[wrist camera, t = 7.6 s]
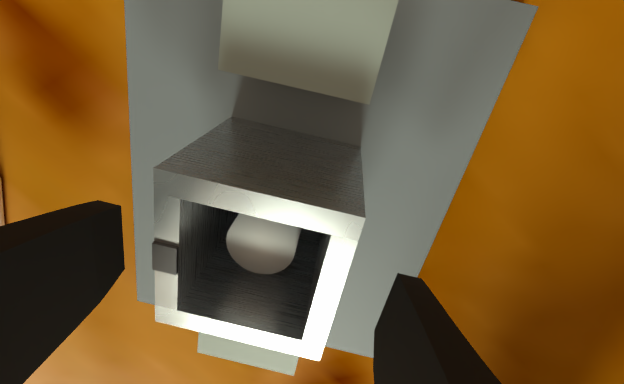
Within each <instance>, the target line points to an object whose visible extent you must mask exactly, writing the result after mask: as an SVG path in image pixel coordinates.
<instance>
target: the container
mask: <svg viewBox="0 0 624 384" xmlns="http://www.w3.org/2000/svg"><path fill="white" fill-rule="evenodd" d="M3 225H5V223H4V210H3V197H2V184H1V177H0V226H3Z"/></svg>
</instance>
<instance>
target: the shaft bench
mask: <svg viewBox="0 0 624 384" xmlns="http://www.w3.org/2000/svg"><path fill="white" fill-rule="evenodd" d="M124 4H125V27H126V50H127V73H128V96H129V119H130V142H131V165H132V188H133V211H134V234H135V257H136V280H137V301H141V302H145V303H149V304H153V305H155V270H152V243H153V242H154V183H153V168H154V167H155V166H157V165H158V164H160V163H161V162H163V161H165V160H166V159H168V158H169V157H171V156H172V155H174V154H175V153H177V152H178V151H180V150H181V149H183V148H184V147H186V146H187V145H189V144H190V143H192V142H193V141H195V140H196V139H198V138H200V137H201V136H203V135H204V134H206V133H207V132H209V131H210V130H212V129H213V128H215V127H216V126H218V125H219V124H221V123H222V122H224V121H225V120H227V119H228V118H230V117H231V116H233V117H237V118H241V119H246V120H250V121H254V122H258V123H263V124H267V125H271V126H276V127H280V128H284V129H288V130H293V131H297V132H301V133H306V134H310V135H314V136H318V137H323V138H327V139H331V140H336V141H340V142H344V143H348V144H353V145H357V146H361V156H362V171H363V185H364V200H365V215H366V219H365V222H364V225H363V228H362V231H361V234H360V237H359V240H358V244H357V247H356V250H355V253H354V256H353V259H352V262H351V265H350V268H349V271H348V274H347V278H346V281H345V284H344V287H343V290H342V293H341V296H340V299H339V302H338V305H337V308H336V312H335V315H334V318H333V321H332V324H331V327H330V330H329V333H328V336H327V339H326V342H325V346H326V347H330V348H334V349H338V350H343V351H347V352H351V353H355V354H359V355H363V356H367V357H371V358H374V330H375V327H376V325H377V322H378V320H379V317H380V315H381V312H382V310H383V308H384V305H385V303H386V300H387V298H388V295H389V293H390V290H391V288H392V286H393V283H394V281H395V278H396V276H397V273H400V274H404V275H408V276H413V277H418V275H419V272H420V270H421V268H422V266H423V263H424V261H425V259H426V257H427V254H428V252H429V250H430V248H431V245H432V243H433V241H434V239H435V237H436V234H437V232H438V230H439V228H440V225H441V223H442V221H443V219H444V216H445V214H446V212H447V210H448V208H449V205H450V203H451V201H452V199H453V196H454V194H455V192H456V190H457V187H458V185H459V183H460V181H461V178H462V176H463V174H464V172H465V170H466V167H467V165H468V163H469V161H470V158H471V156H472V154H473V152H474V149H475V147H476V145H477V143H478V141H479V138H480V136H481V134H482V132H483V129H484V127H485V125H486V123H487V120H488V118H489V116H490V114H491V112H492V109H493V107H494V105H495V103H496V100H497V98H498V96H499V94H500V91H501V89H502V87H503V85H504V82H505V80H506V78H507V76H508V74H509V71H510V69H511V67H512V65H513V62H514V60H515V58H516V56H517V53H518V51H519V49H520V47H521V45H522V42H523V40H524V38H525V36H526V33H527V31H528V29H529V27H530V24H531V22H532V20H533V18H534V15H535V13H536V11H537V9H538V6H533V5H529V4H524V3H520V2H516V1H511V0H124ZM300 233H306V234H310V235H314V236H318V237H320V233H321V232H317V231H313V230H308V229H304V228H300V227H296V226H292V225H287V224H283V223H279V222H275V221H271V220H266V219H262V218H258V217H254V216H250V215H245V214H241V213H237V218H236V219H235V221H234V222H233V224H232V225H231V227H230V229H229V230H228V233H227V237H226V244H227V249H228V251H229V253H230V255H231V257H232V258H233V259H234V260H235V262H236V263H238V264H239V265H240V266H241V267H243V268H244V269H246V270H248V271H251V272H254V273H258V274H273V273H277V272H280V271H282V270H284V269H285V268H286V267H287V266H288V265H289V264H290V263H291V262H292V260H293V258H294V255H295V251H296V248H297V244H298V240H299V236H300ZM197 352H198V353H203V354H207V355H211V356H215V357H219V358H223V359H227V360H231V361H235V362H239V363H243V364H248V365H252V366H256V367H260V368H264V369H268V370H272V371H276V372H280V373H284V374H288V375H293V376H294V373H295V369H296V365H297V362H298V358H299V356H297V355H293V354H288V353H284V352H280V351H276V350H272V349H268V348H264V347H260V346H256V345H251V344H247V343H243V342H239V341H235V340H231V339H227V338H223V337H219V336H214V335H210V334H206V333H202V332H199V337H198V351H197Z"/></svg>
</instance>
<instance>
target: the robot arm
mask: <svg viewBox="0 0 624 384" xmlns="http://www.w3.org/2000/svg"><path fill="white" fill-rule="evenodd" d="M124 269H125V266H124V249H123V232H122V215H121V206H119V205H115V204H111V203H107V202H103V201H99V200H97V201H92V202H87V203H83V204H79V205H75V206H71V207H67V208H64V209H60V210H56V211H53V212H49V213H46V214H42V215H39V216H35V217H32V218H28V219H24V220H21V221H17V222H14V223H10V224H7V225H3V226H0V384H23V383H24V382H25V381H26V380H27V379H28V378H29V377H30V376H31V375H32V374H33V373H34V371H35V370H36V369H37V368H38V367H39V366H40V365H41V364H42V363H43V362H44V361H45V360H46V359H47V358H48V357H49V356H50V355H51V354H52V353H53V352H54V351H55V350H56V348H57V347H58V346H59V345H60V344H61V343H62V342H63V341H64V340H65V339H66V338H67V337H68V336H69V335H70V334H71V333H72V332H73V331H74V330H75V329H76V328H77V326H78V325H79V324H80V323H81V322H82V321H83V320H84V319H85V318H86V317H87V316H88V315H89V314H90V313H91V312H92V310H93V309H94V308H95V307H96V306H97V305H98V304H99V303H100V302H101V300H102V299H103V298H104V296H105V295H106V294H107V292H108V291H109V290H110V289H111V287H112V286H113V284H114V283H115V282H116V280H117V279H118V277H119V276H120V275H121V273H122V272H123V270H124ZM373 372H374V384H501V383H500V381H499V380H498V379H497V378H496V377H495V375H494V374H493V373H492V372H491V370H490V369H489V368H488V367H487V365H486V364H485V363H484V362H483V360H482V359H481V358H480V356H479V355H478V354H477V353H476V351H475V350H474V349H473V347H472V346H471V345H470V343H469V342H468V341H467V339H466V338H465V337H464V335H463V334H462V333H461V331H460V330H459V329H458V327H457V326H456V325H455V323H454V322H453V321H452V319H451V318H450V316H449V315H448V314H447V312H446V311H445V310H444V308H443V307H442V305H441V304H440V303H439V301H438V300H437V299H436V297H435V296H434V294H433V293H432V292H431V290H430V289H429V288H428V286H427V285H426V284H425V282H424V281H423V280H422V279H421V278H417V277H413V276H408V275H404V274H400V273H397V276H396V278H395V281H394V283H393V286H392V288H391V290H390V293H389V295H388V298H387V300H386V303H385V305H384V308H383V310H382V312H381V315H380V317H379V320H378V322H377V325H376V327H375V330H374V361H373Z"/></svg>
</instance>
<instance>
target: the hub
mask: <svg viewBox="0 0 624 384" xmlns="http://www.w3.org/2000/svg"><path fill="white" fill-rule="evenodd" d="M153 183H154V242H153V243H152V270H155V321H157V322H161V323H165V324H169V325H173V326H177V327H181V328H186V329H190V330H194V331H198V332H202V333H206V334H210V335H214V336H219V337H223V338H227V339H231V340H235V341H239V342H243V343H247V344H251V345H256V346H260V347H264V348H268V349H272V350H276V351H280V352H284V353H288V354H293V355H297V356H301V357H305V358H309V359H313V360H317V361H320V358H321V355H322V352H323V349H324V346H325V342H326V339H327V336H328V333H329V330H330V327H331V324H332V321H333V318H334V315H335V312H336V308H337V305H338V302H339V299H340V296H341V293H342V290H343V287H344V284H345V281H346V278H347V274H348V271H349V268H350V265H351V262H352V259H353V256H354V253H355V250H356V247H357V244H358V240H359V237H360V234H361V231H362V228H363V225H364V222H365V219H366V215H365V200H364V185H363V171H362V156H361V146H357V145H353V144H348V143H344V142H340V141H336V140H331V139H327V138H323V137H318V136H314V135H310V134H306V133H301V132H297V131H293V130H288V129H284V128H280V127H276V126H271V125H267V124H263V123H258V122H254V121H250V120H246V119H241V118H237V117H233V116H231V117H230V118H228V119H227V120H225V121H224V122H222V123H221V124H219V125H218V126H216V127H215V128H213V129H212V130H210V131H209V132H207V133H206V134H204V135H203V136H201V137H200V138H198V139H196V140H195V141H193V142H192V143H190V144H189V145H187V146H186V147H184V148H183V149H181V150H180V151H178V152H177V153H175V154H174V155H172V156H171V157H169V158H168V159H166V160H165V161H163V162H161V163H160V164H158V165H157V166H155V167H154V168H153ZM237 213H241V214H245V215H250V216H254V217H258V218H262V219H266V220H271V221H275V222H279V223H283V224H287V225H292V226H296V227H300V228H304V229H308V230H313V231H317V232H321V233H320V237H318V236H314V235H310V234H306V233H300V236H299V240H298V244H297V248H296V251H295V255H294V258H293V260H292V262H291V263H290V264H289V265H288V266H287V267H286V268H285V269H284V270H282V271H280V272H277V273H273V274H258V273H254V272H251V271H248V270H246V269H244V268H243V267H241V266H240V265H239V264H238V263H236V262H235V260H234V259H233V258H232V257H231V255H230V253H229V251H228V249H227V244H226V237H227V233H228V230H229V229H230V227H231V225H232V224H233V222H234V221H235V219H236V218H237Z"/></svg>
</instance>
